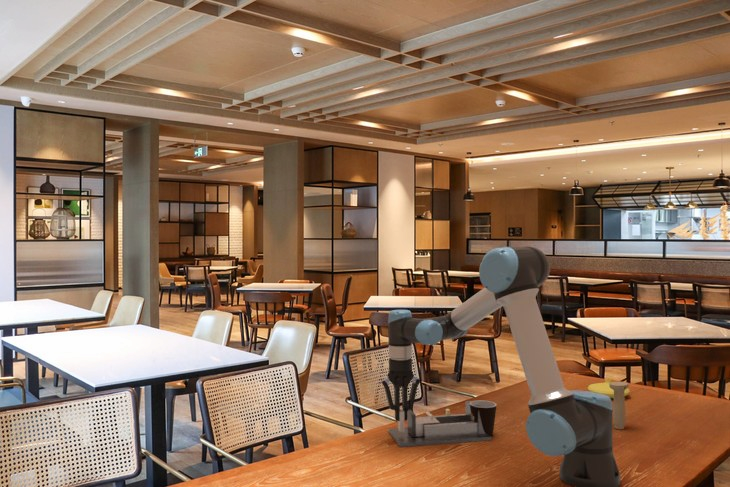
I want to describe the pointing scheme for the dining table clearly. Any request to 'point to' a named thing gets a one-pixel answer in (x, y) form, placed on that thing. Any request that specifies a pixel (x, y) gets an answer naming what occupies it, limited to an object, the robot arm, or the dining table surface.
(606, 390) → the yellow pot lid
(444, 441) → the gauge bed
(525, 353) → the robot arm
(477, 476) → the dining table surface
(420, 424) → the grey bracket
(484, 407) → the coffee mug
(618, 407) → the handle
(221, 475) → the dining table surface
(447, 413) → the marker
